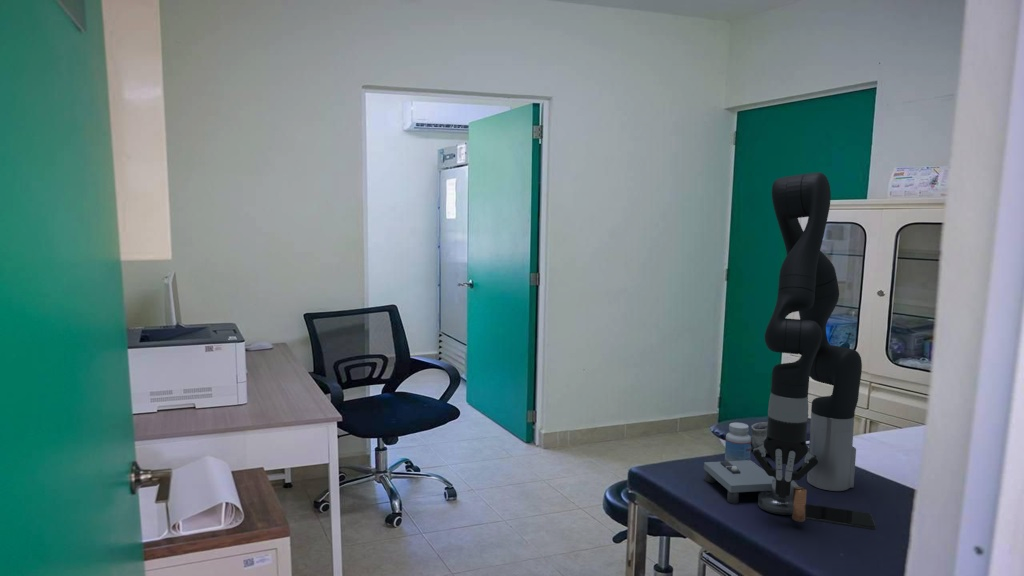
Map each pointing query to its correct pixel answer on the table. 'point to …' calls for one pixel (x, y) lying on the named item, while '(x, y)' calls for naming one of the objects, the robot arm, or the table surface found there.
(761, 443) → the mug
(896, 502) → the table surface
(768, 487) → the slide switch panel
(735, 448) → the pill bottle
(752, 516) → the table surface
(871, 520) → the smartphone
